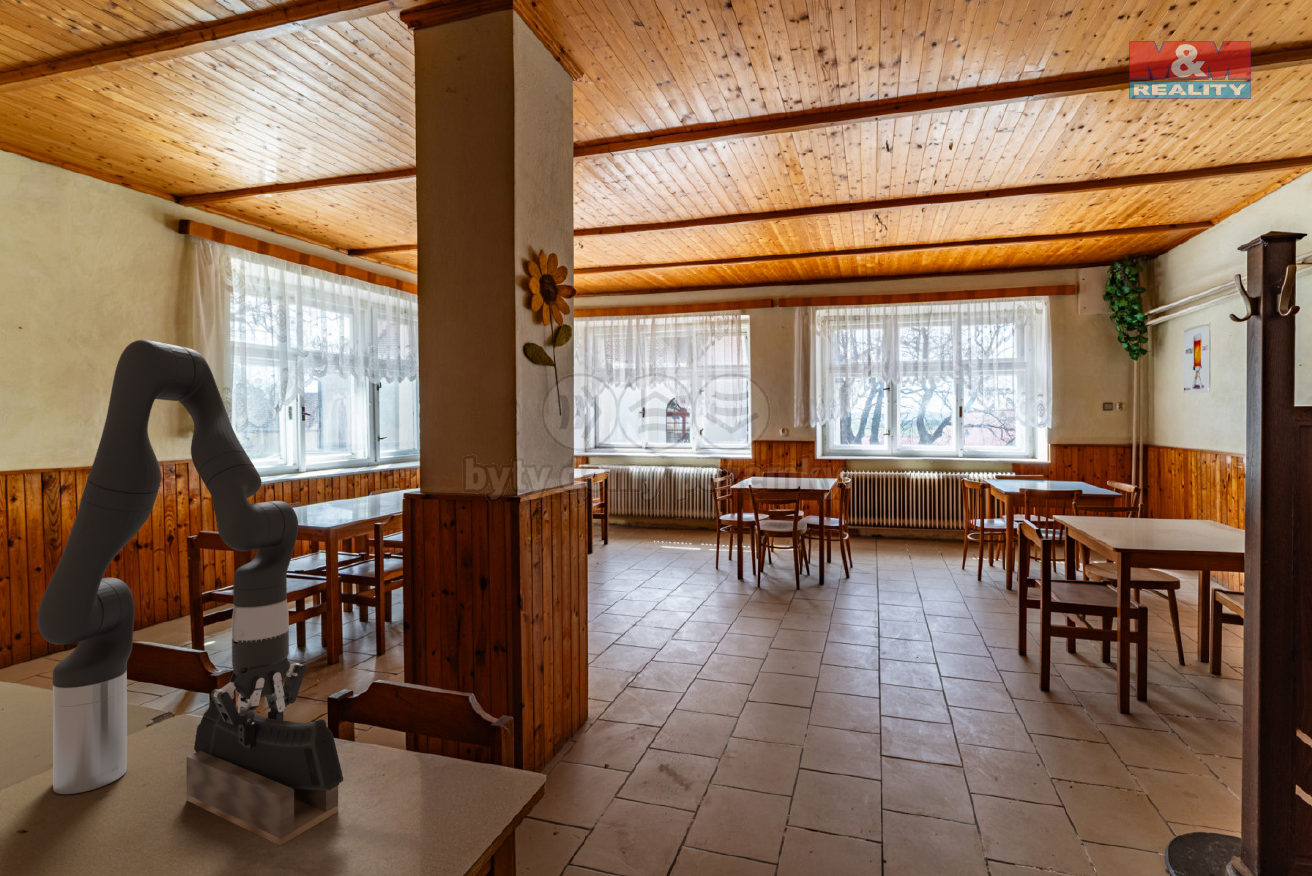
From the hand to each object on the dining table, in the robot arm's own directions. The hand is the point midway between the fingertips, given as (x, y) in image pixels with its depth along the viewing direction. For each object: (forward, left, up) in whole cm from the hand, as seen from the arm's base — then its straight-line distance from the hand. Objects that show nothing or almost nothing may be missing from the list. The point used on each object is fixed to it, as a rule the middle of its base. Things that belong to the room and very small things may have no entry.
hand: (261, 740), depth 98 cm
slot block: (0, 0, -10) cm, 10 cm away
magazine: (+1, 0, -6) cm, 6 cm away
